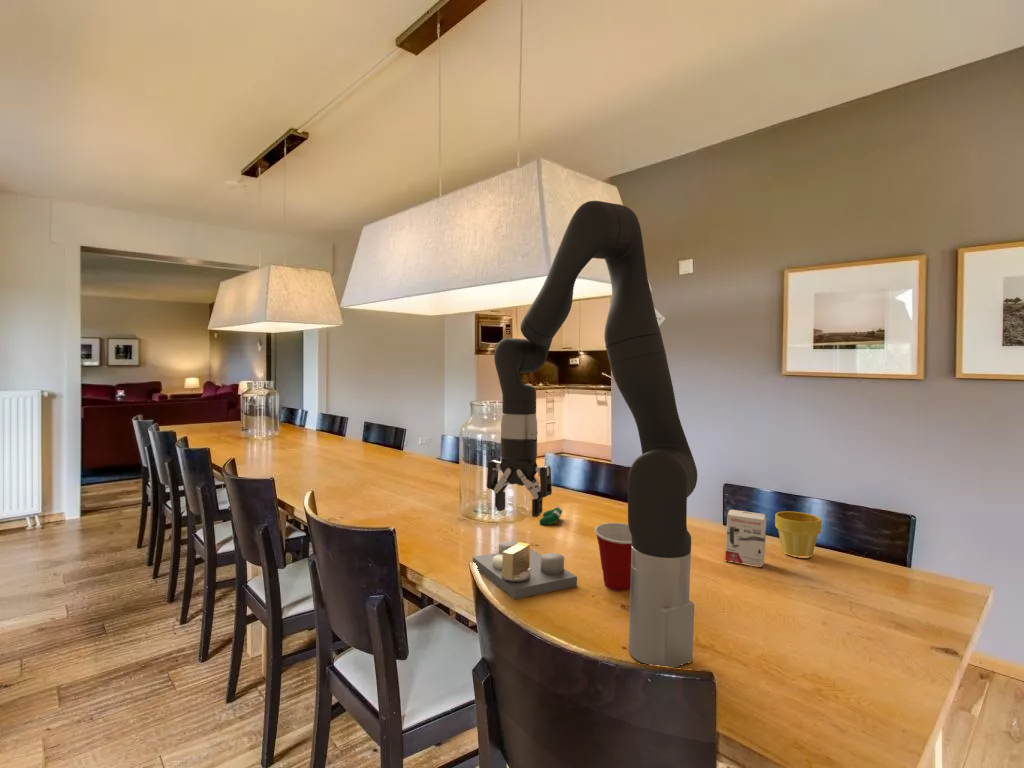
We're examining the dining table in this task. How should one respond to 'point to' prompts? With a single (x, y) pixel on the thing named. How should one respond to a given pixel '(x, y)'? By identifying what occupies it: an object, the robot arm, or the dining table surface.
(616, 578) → the plastic cup
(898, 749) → the dining table surface
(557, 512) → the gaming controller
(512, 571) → the wing knob
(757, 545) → the ink box
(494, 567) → the base
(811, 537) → the plant pot
